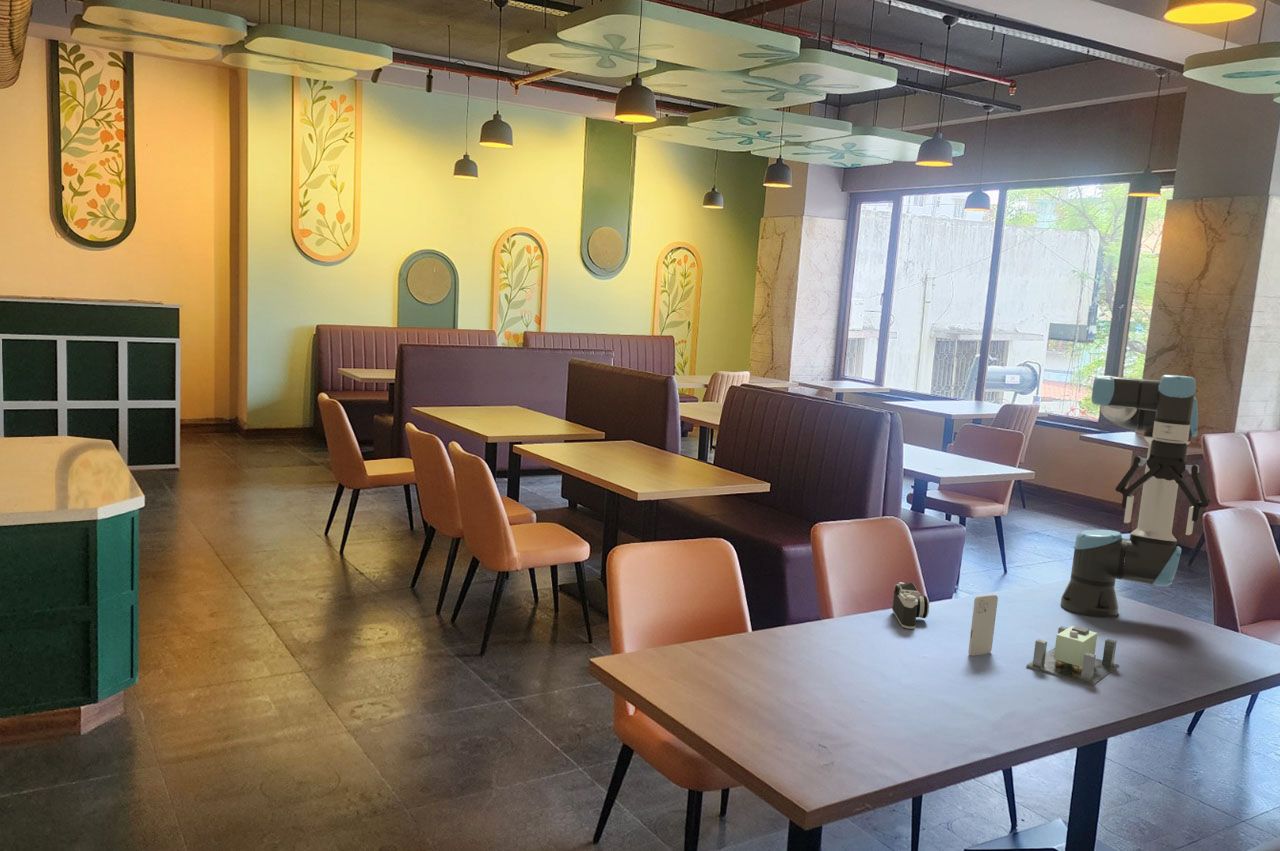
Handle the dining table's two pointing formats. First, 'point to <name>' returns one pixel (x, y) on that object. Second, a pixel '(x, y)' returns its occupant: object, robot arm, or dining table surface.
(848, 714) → the dining table surface
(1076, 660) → the block
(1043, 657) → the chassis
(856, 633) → the dining table surface
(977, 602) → the smartphone
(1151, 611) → the dining table surface
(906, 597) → the camera
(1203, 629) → the dining table surface
